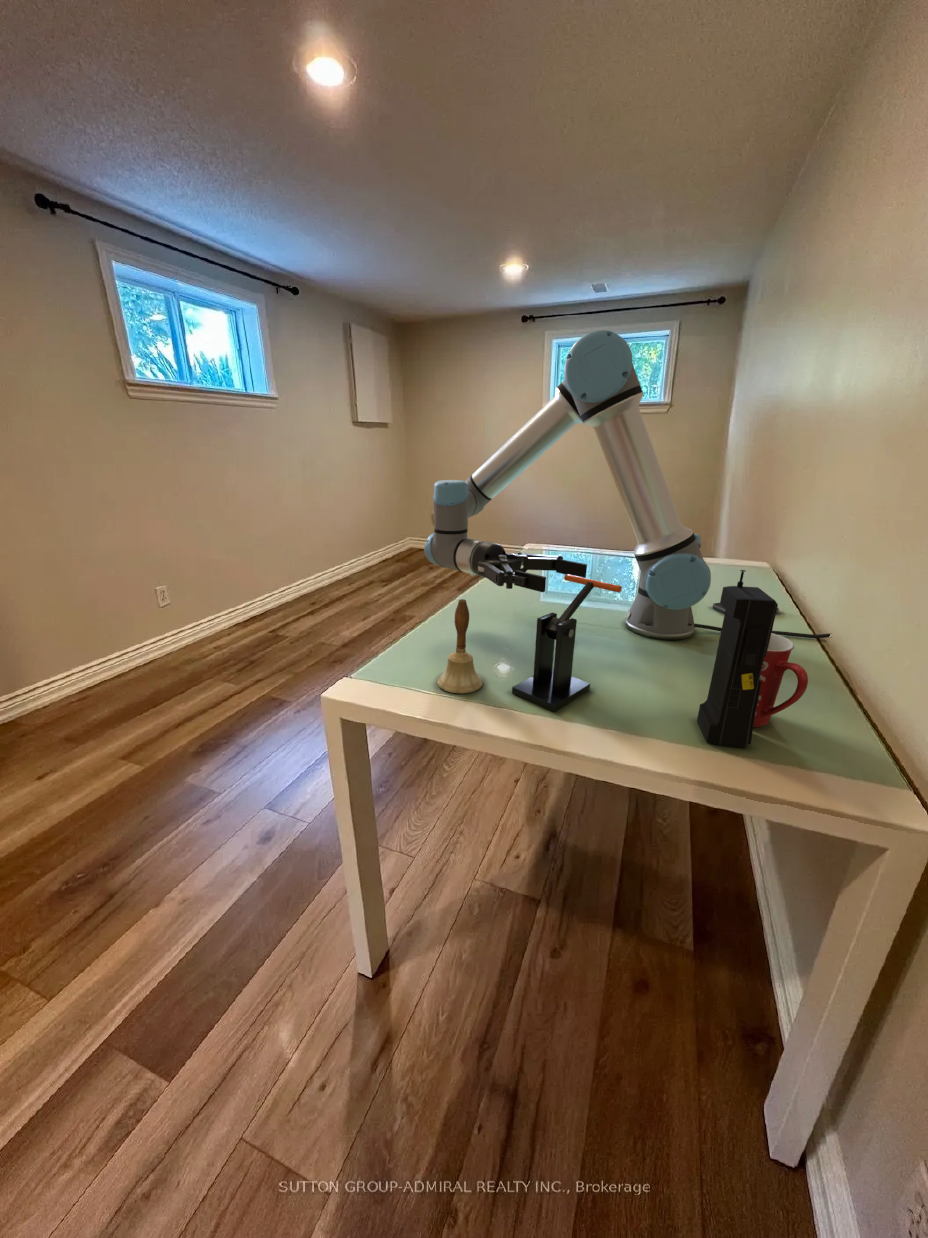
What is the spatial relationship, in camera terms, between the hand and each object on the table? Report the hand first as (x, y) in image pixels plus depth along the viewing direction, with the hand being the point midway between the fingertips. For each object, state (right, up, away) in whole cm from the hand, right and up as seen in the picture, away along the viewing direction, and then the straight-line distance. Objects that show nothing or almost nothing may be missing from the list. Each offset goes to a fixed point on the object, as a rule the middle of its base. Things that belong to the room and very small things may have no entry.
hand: (566, 577), depth 91 cm
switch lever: (0, -6, -5) cm, 8 cm away
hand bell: (-20, -20, -2) cm, 28 cm away
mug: (+27, -24, -13) cm, 39 cm away
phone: (+56, -5, +39) cm, 68 cm away
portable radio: (+20, -26, -17) cm, 37 cm away
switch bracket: (-4, -21, -4) cm, 21 cm away
